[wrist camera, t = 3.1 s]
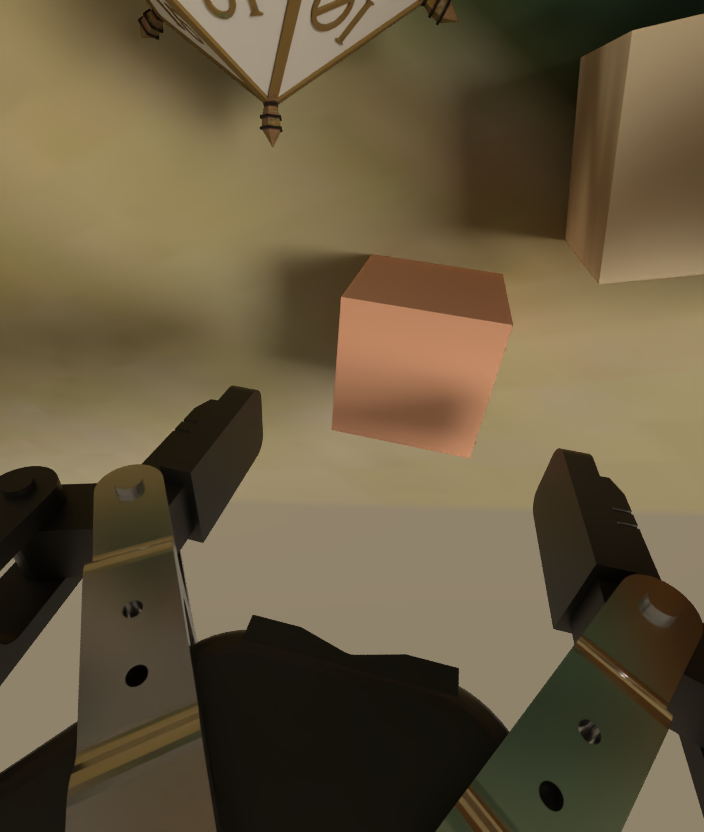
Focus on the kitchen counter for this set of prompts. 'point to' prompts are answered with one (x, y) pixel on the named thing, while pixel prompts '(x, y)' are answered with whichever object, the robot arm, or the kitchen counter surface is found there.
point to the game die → (280, 38)
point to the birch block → (640, 156)
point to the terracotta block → (419, 353)
